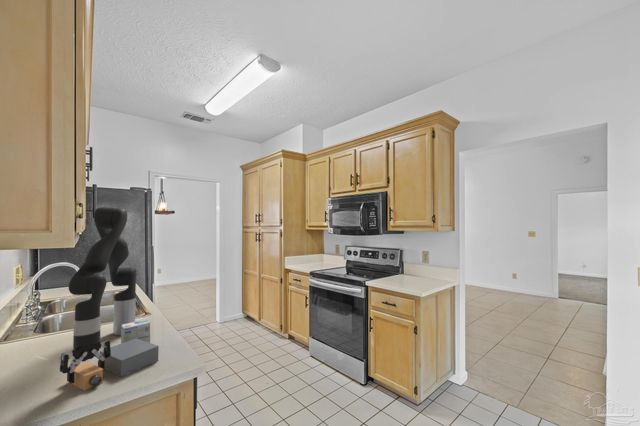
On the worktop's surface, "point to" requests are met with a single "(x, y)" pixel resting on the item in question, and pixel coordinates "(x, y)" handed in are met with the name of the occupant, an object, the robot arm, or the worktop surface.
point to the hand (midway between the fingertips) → (86, 376)
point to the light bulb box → (136, 331)
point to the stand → (130, 356)
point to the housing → (87, 376)
